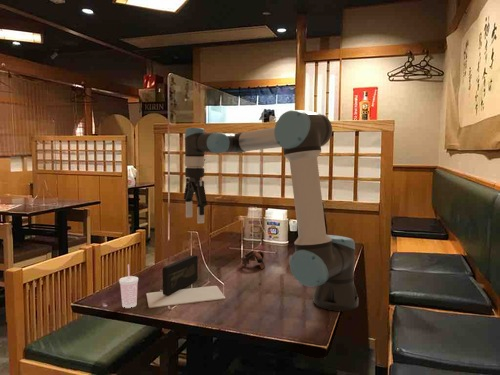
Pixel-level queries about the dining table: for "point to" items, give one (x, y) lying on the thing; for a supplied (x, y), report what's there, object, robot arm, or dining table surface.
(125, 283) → the beverage cup
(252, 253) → the pottery mug
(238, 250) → the dining table surface
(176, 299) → the beige mat
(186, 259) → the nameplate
